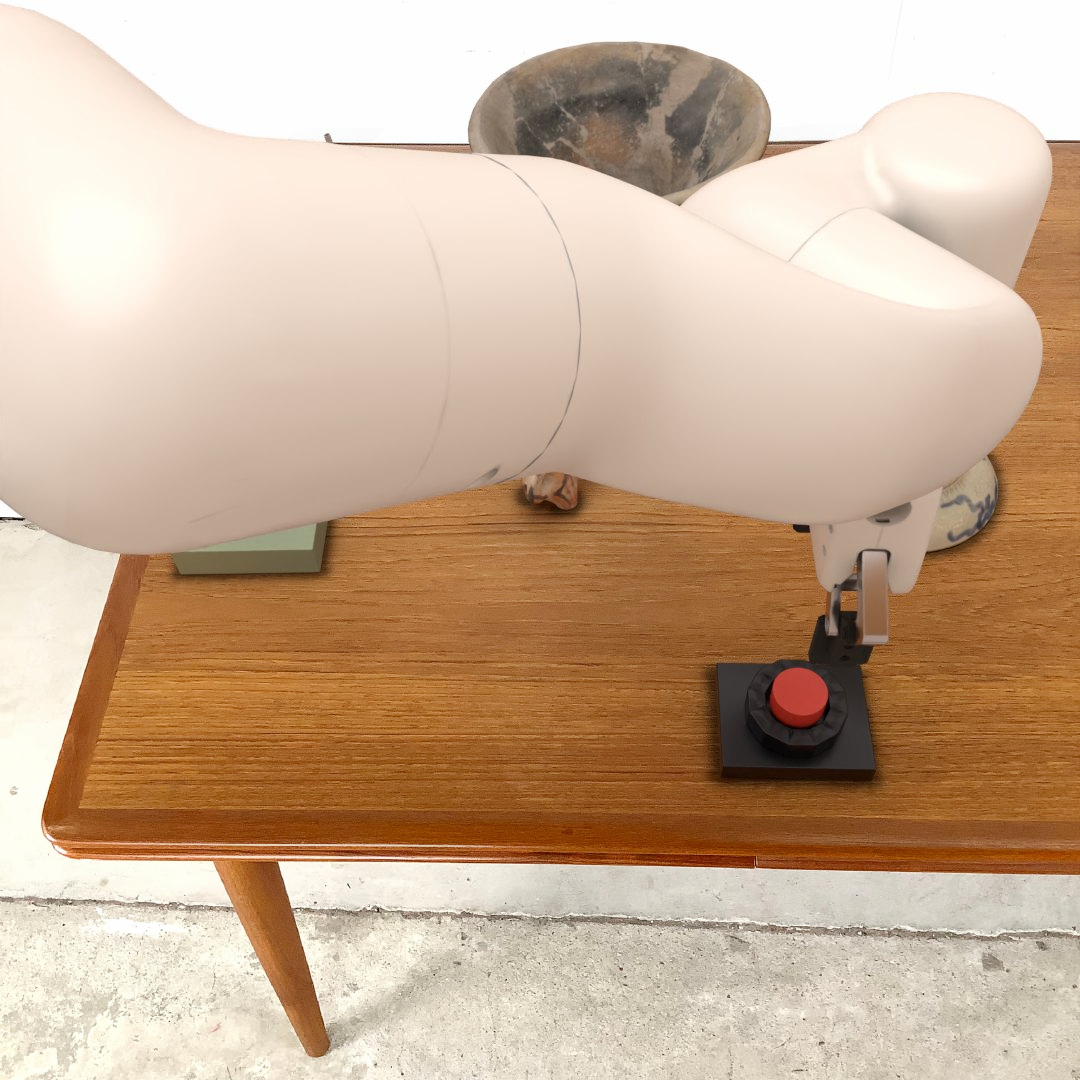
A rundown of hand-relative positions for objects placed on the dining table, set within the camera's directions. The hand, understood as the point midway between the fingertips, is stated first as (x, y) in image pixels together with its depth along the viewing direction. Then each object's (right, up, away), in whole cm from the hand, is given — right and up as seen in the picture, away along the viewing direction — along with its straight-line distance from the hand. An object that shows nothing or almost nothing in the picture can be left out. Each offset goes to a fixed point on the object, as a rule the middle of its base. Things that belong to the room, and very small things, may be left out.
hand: (827, 591), depth 65 cm
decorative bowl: (+13, +8, +26) cm, 30 cm away
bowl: (-9, +31, +45) cm, 56 cm away
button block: (+1, -10, +13) cm, 16 cm away
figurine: (-14, +9, +29) cm, 33 cm away
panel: (-39, +6, +27) cm, 48 cm away
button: (+1, -8, +10) cm, 13 cm away
